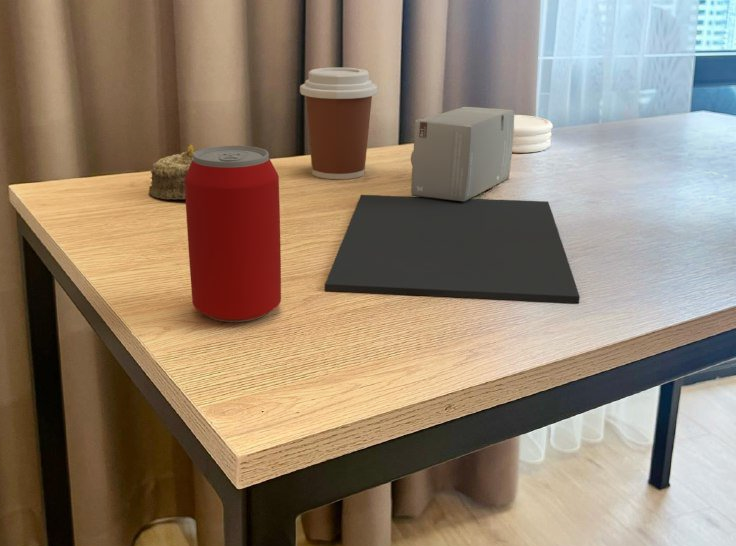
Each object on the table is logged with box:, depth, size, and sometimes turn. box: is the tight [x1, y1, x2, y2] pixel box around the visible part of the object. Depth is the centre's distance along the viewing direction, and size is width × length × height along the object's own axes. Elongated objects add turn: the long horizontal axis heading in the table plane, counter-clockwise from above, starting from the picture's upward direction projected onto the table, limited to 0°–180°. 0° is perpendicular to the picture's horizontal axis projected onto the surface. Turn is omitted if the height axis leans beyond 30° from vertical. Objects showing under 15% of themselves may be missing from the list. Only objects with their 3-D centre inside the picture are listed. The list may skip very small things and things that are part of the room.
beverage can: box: [185, 145, 282, 323], centre depth 66 cm, size 7×7×12 cm
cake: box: [148, 143, 196, 201], centre depth 100 cm, size 10×10×5 cm
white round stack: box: [512, 114, 554, 154], centre depth 123 cm, size 10×10×4 cm
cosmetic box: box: [410, 106, 515, 202], centre depth 100 cm, size 8×7×16 cm
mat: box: [324, 194, 581, 304], centre depth 84 cm, size 20×28×1 cm
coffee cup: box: [299, 67, 379, 180], centre depth 107 cm, size 9×9×12 cm
